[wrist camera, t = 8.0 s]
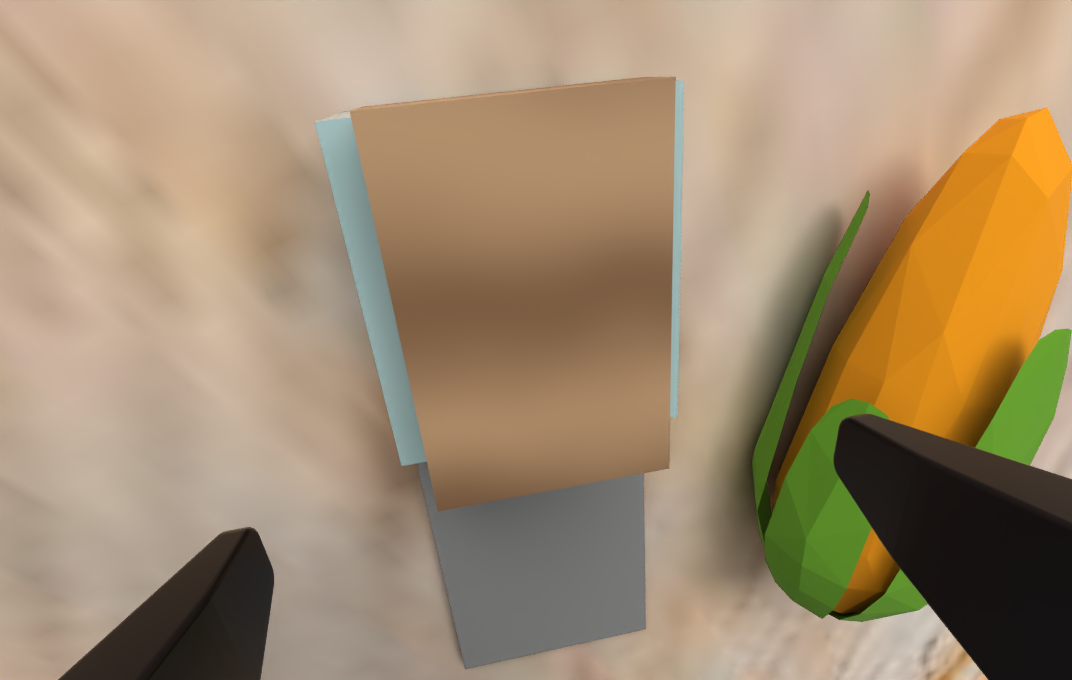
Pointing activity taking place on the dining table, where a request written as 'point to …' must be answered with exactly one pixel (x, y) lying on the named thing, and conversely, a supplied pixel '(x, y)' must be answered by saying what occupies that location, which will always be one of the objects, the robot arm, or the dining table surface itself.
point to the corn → (925, 359)
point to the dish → (374, 286)
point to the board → (530, 279)
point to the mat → (542, 567)
